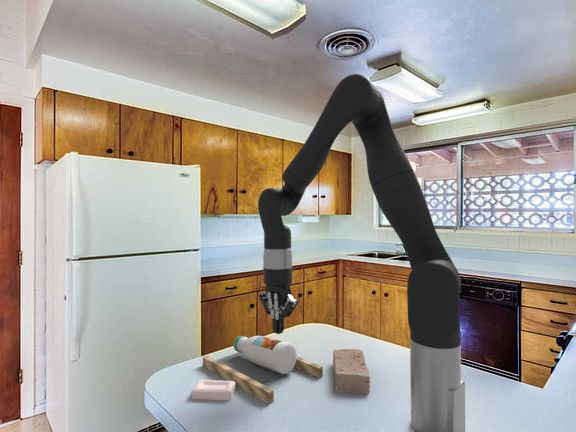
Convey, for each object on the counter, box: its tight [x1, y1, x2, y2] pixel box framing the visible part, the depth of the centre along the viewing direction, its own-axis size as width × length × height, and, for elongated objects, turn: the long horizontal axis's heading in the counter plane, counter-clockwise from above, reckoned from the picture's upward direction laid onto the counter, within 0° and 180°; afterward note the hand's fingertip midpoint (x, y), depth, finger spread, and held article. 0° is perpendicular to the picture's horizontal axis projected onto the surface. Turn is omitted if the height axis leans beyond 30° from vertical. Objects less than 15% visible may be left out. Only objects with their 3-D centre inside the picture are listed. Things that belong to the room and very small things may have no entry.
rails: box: [202, 355, 324, 405], centre depth 93 cm, size 28×19×2 cm
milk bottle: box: [233, 335, 298, 375], centre depth 97 cm, size 8×8×20 cm
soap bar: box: [192, 379, 236, 401], centre depth 82 cm, size 5×9×2 cm, turn 86°
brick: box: [332, 348, 371, 394], centre depth 90 cm, size 17×8×5 cm, turn 175°
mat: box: [216, 352, 297, 385], centre depth 96 cm, size 20×15×1 cm
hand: (278, 332), depth 88 cm, fingers closed
